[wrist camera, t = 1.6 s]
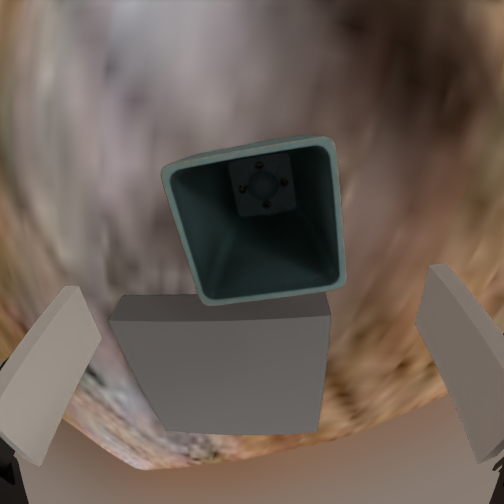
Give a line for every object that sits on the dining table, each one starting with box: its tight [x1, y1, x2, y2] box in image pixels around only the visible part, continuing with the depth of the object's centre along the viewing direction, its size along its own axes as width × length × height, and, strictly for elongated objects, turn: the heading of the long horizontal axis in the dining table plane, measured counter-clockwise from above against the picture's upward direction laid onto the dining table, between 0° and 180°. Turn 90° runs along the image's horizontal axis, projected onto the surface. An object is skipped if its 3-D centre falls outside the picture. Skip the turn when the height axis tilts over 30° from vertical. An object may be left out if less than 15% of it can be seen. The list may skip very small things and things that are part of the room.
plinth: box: [108, 292, 331, 435], centre depth 32 cm, size 20×20×4 cm
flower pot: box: [161, 135, 346, 306], centre depth 20 cm, size 9×9×9 cm
